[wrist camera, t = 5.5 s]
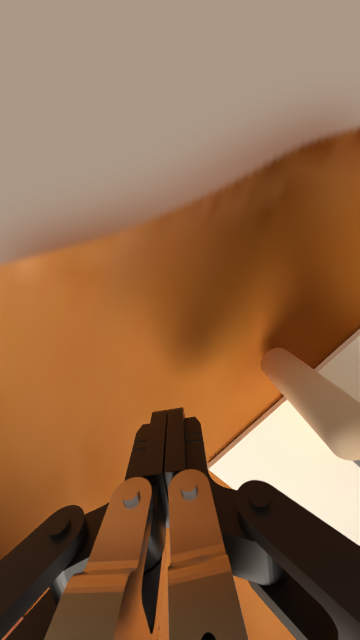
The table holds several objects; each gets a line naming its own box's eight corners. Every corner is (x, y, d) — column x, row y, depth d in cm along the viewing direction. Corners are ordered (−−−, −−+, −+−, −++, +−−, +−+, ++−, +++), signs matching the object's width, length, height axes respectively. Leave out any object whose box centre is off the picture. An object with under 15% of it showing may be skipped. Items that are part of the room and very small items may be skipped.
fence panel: (374, 435, 14) (512, 549, 8) (351, 453, 14) (468, 577, 8) (278, 341, 12) (362, 399, 7) (254, 363, 13) (316, 438, 7)
